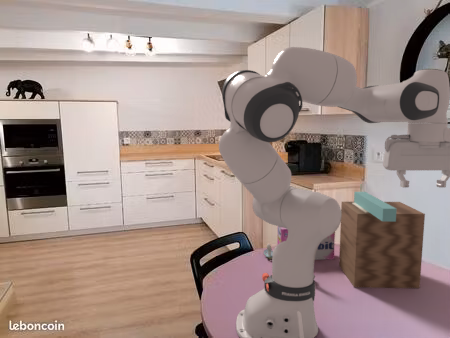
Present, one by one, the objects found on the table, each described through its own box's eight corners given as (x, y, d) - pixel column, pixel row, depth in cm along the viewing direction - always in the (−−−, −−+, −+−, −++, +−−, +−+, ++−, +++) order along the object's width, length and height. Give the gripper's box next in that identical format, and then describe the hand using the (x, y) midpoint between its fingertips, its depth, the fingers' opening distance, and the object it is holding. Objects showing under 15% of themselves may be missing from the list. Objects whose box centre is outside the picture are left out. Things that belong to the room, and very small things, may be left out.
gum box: (330, 252, 149) (331, 222, 148) (337, 259, 141) (338, 227, 140) (276, 253, 148) (277, 223, 146) (280, 261, 140) (281, 229, 138)
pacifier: (275, 254, 148) (262, 254, 147) (275, 240, 148) (262, 240, 146) (281, 260, 141) (268, 261, 140) (282, 246, 141) (268, 246, 139)
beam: (382, 221, 104) (383, 208, 103) (354, 202, 129) (354, 191, 129) (395, 221, 103) (396, 208, 103) (364, 202, 129) (365, 191, 129)
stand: (354, 287, 117) (357, 212, 114) (339, 265, 135) (341, 200, 132) (419, 288, 116) (424, 213, 113) (395, 266, 134) (399, 201, 131)
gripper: (390, 135, 86) (387, 189, 87) (474, 134, 85) (469, 189, 86) (380, 134, 92) (377, 185, 94) (458, 134, 91) (454, 185, 93)
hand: (422, 187), depth 90 cm, fingers open, 8 cm apart
